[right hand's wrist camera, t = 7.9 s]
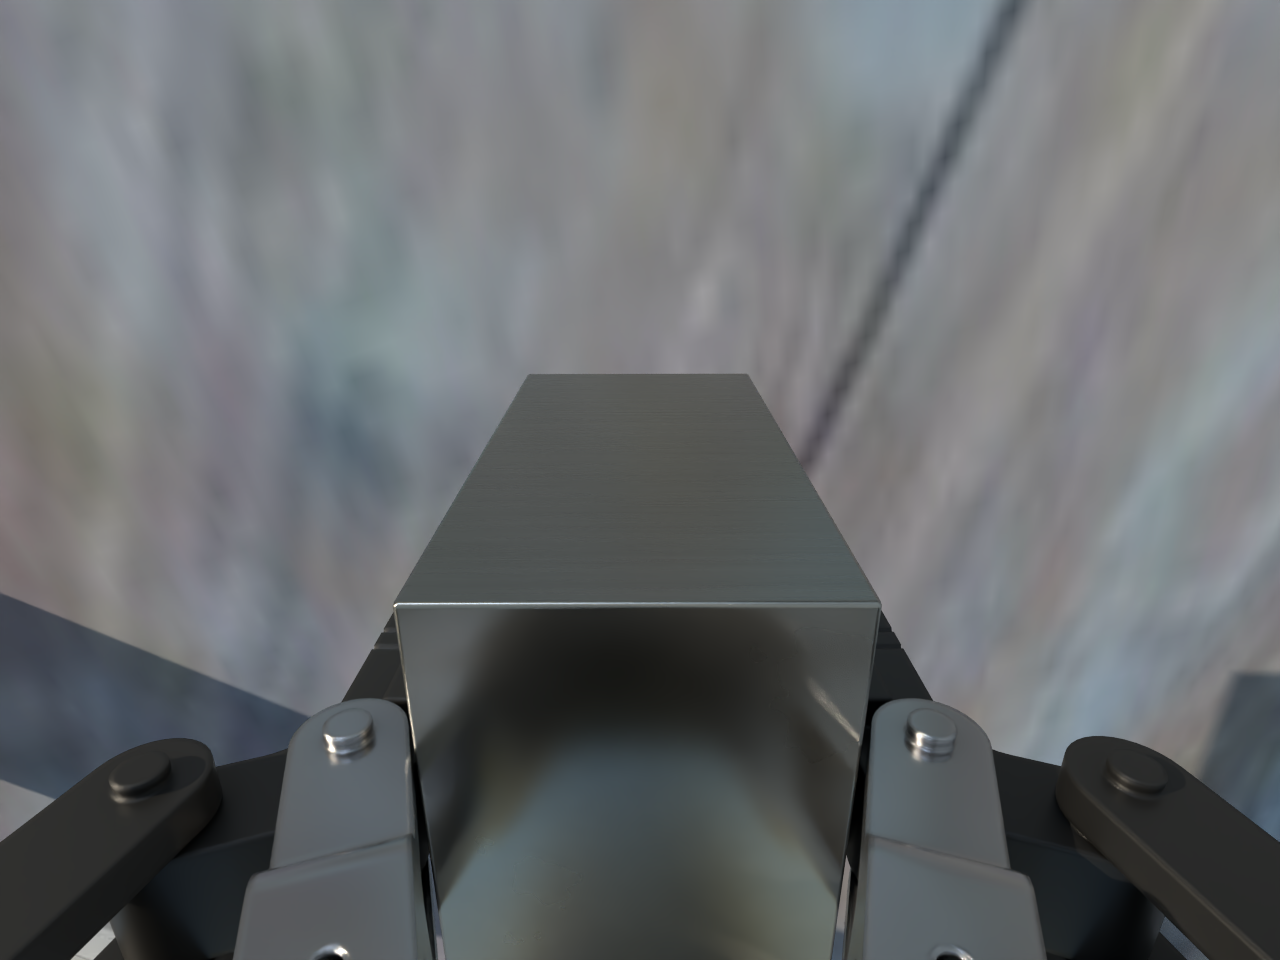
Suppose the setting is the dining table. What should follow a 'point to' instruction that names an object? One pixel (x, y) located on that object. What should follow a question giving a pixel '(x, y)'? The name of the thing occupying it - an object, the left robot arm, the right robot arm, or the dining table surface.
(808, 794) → the bar
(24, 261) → the dining table surface
